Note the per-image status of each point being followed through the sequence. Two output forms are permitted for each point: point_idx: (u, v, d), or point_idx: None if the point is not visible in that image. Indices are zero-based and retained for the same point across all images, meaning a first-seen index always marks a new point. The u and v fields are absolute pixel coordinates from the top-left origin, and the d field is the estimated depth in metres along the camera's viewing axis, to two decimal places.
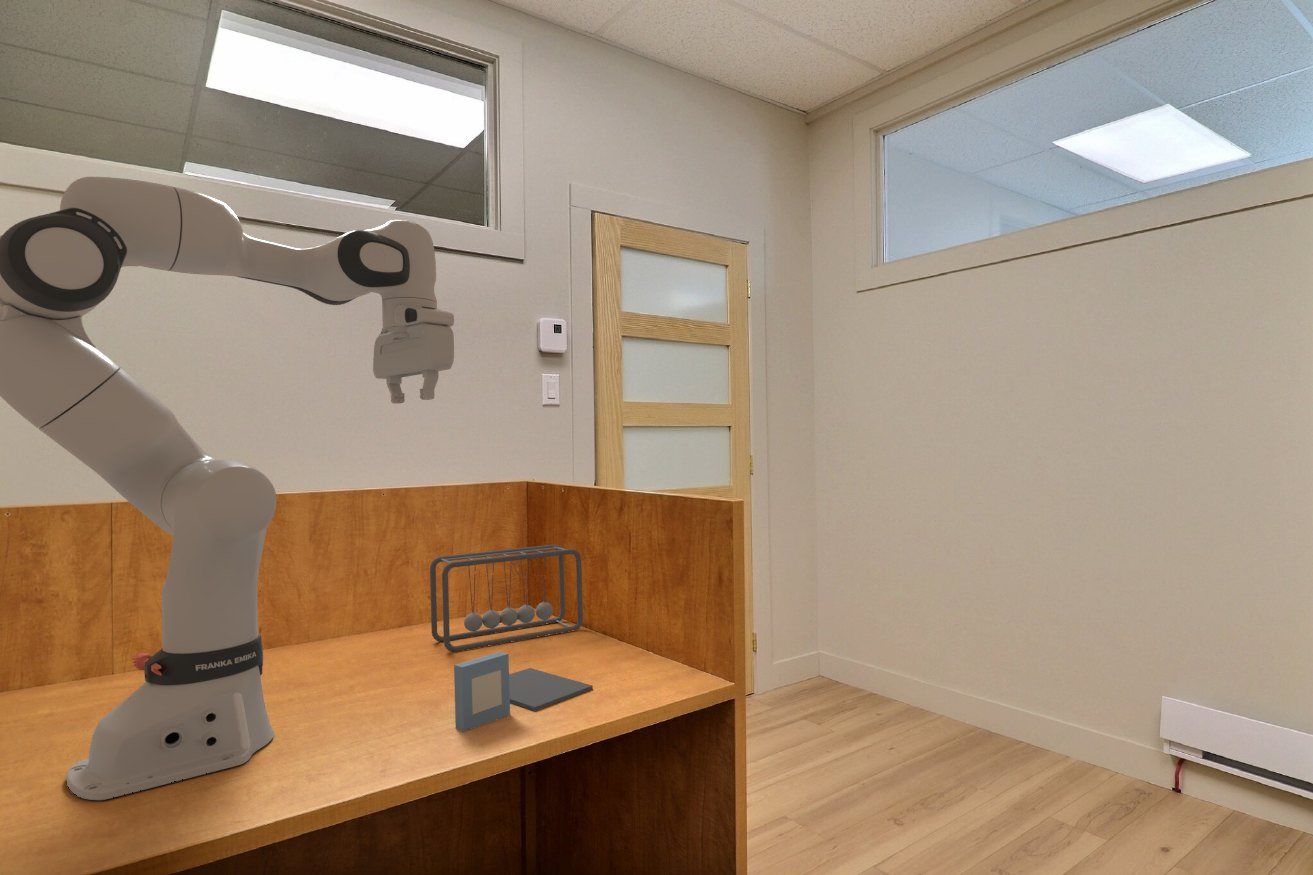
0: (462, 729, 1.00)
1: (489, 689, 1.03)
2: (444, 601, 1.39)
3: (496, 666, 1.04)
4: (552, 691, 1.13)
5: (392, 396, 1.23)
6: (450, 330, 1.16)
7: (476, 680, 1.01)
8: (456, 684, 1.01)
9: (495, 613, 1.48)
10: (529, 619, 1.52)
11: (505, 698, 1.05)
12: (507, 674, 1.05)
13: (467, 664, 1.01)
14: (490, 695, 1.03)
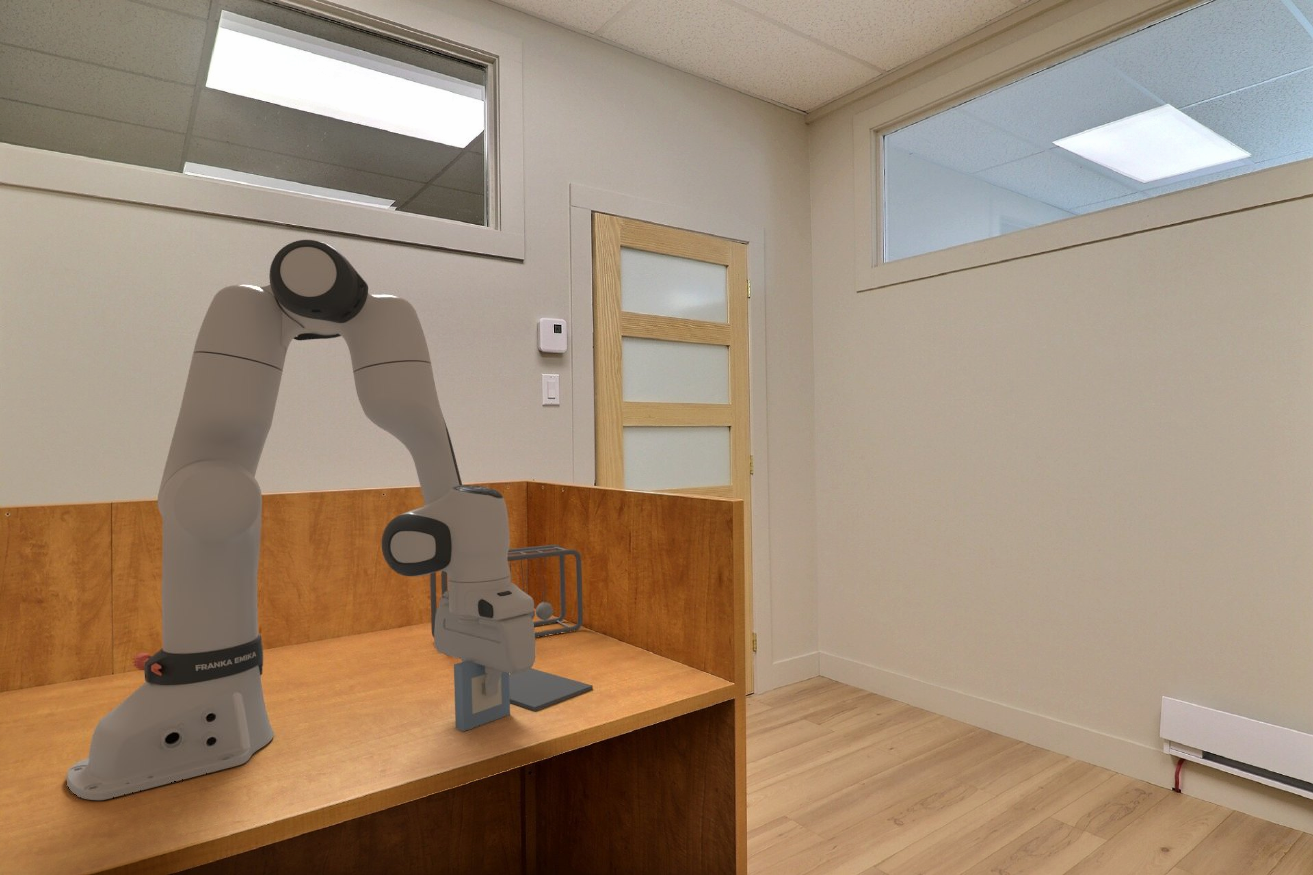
0: (462, 729, 1.00)
1: None
2: None
3: None
4: (552, 691, 1.13)
5: None
6: (530, 622, 0.99)
7: (476, 680, 1.01)
8: (456, 684, 1.01)
9: None
10: None
11: (505, 698, 1.05)
12: (507, 674, 1.06)
13: (467, 663, 1.01)
14: None
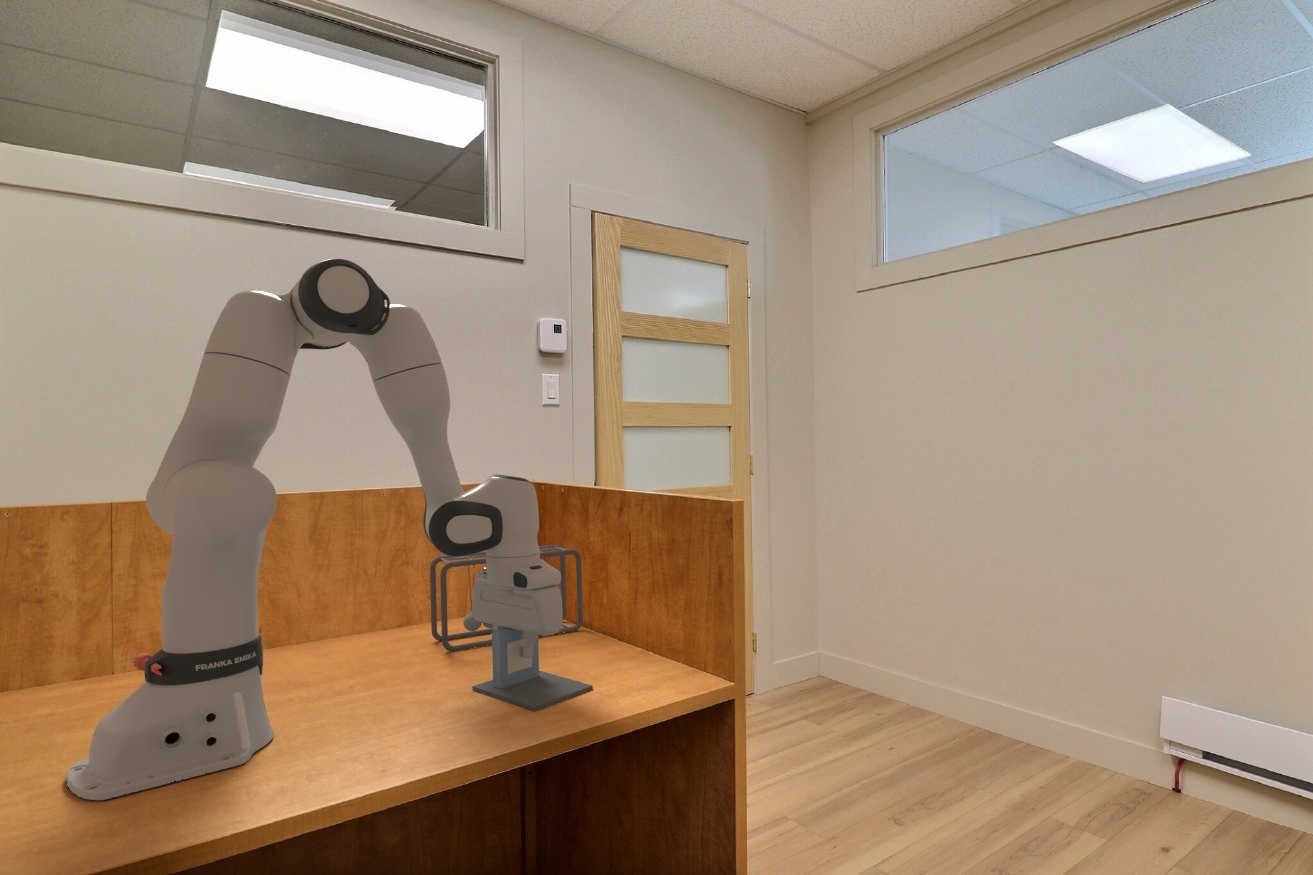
0: (499, 686, 1.16)
1: None
2: (442, 601, 1.40)
3: None
4: (552, 691, 1.13)
5: None
6: (558, 592, 1.15)
7: (511, 645, 1.17)
8: (494, 648, 1.17)
9: None
10: None
11: (535, 661, 1.21)
12: (536, 640, 1.21)
13: (503, 630, 1.17)
14: (522, 658, 1.19)
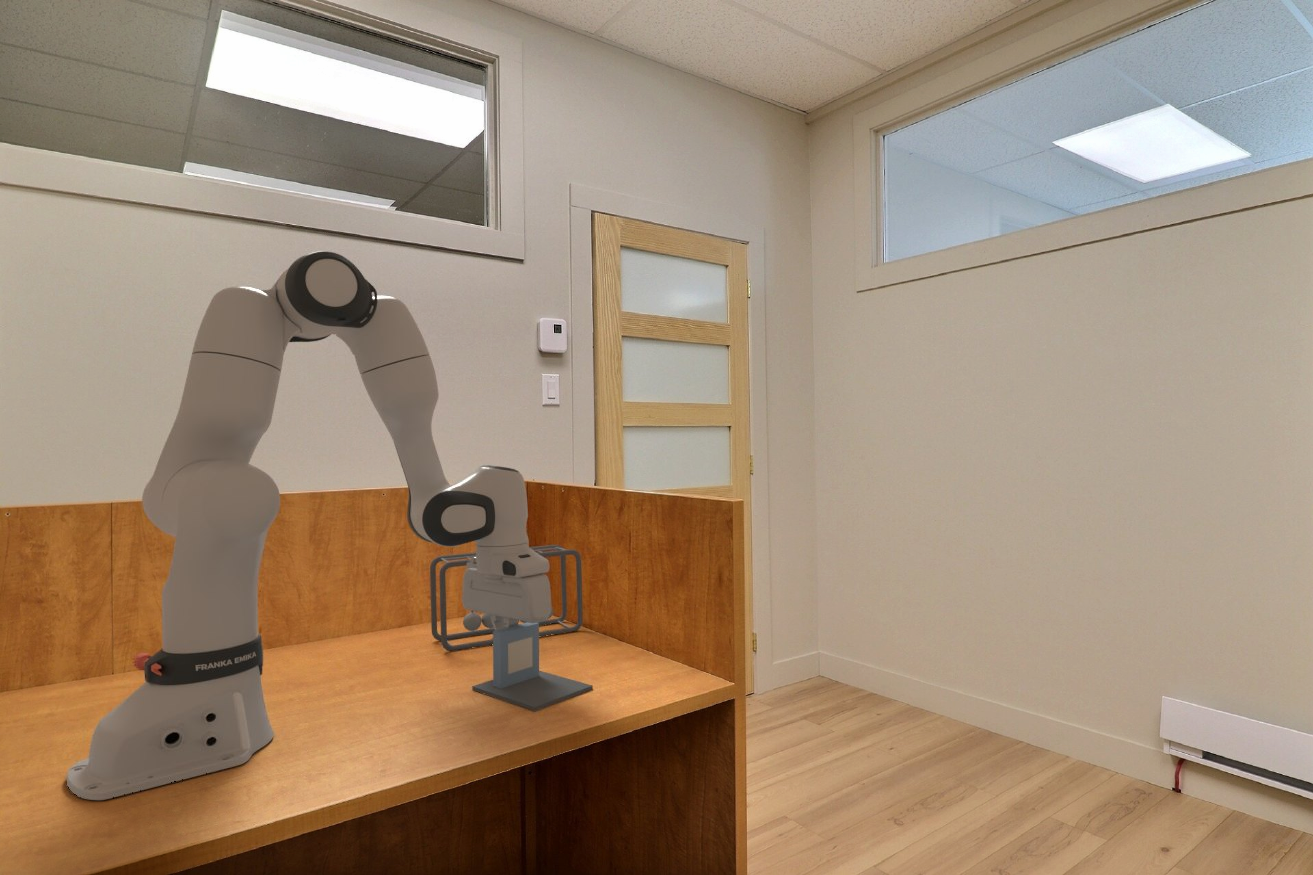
0: (499, 686, 1.16)
1: (522, 653, 1.19)
2: (441, 600, 1.40)
3: (528, 633, 1.20)
4: (552, 691, 1.13)
5: None
6: (547, 580, 1.17)
7: (512, 645, 1.17)
8: (494, 648, 1.16)
9: None
10: None
11: (535, 661, 1.21)
12: (537, 641, 1.21)
13: (504, 630, 1.17)
14: (523, 658, 1.19)
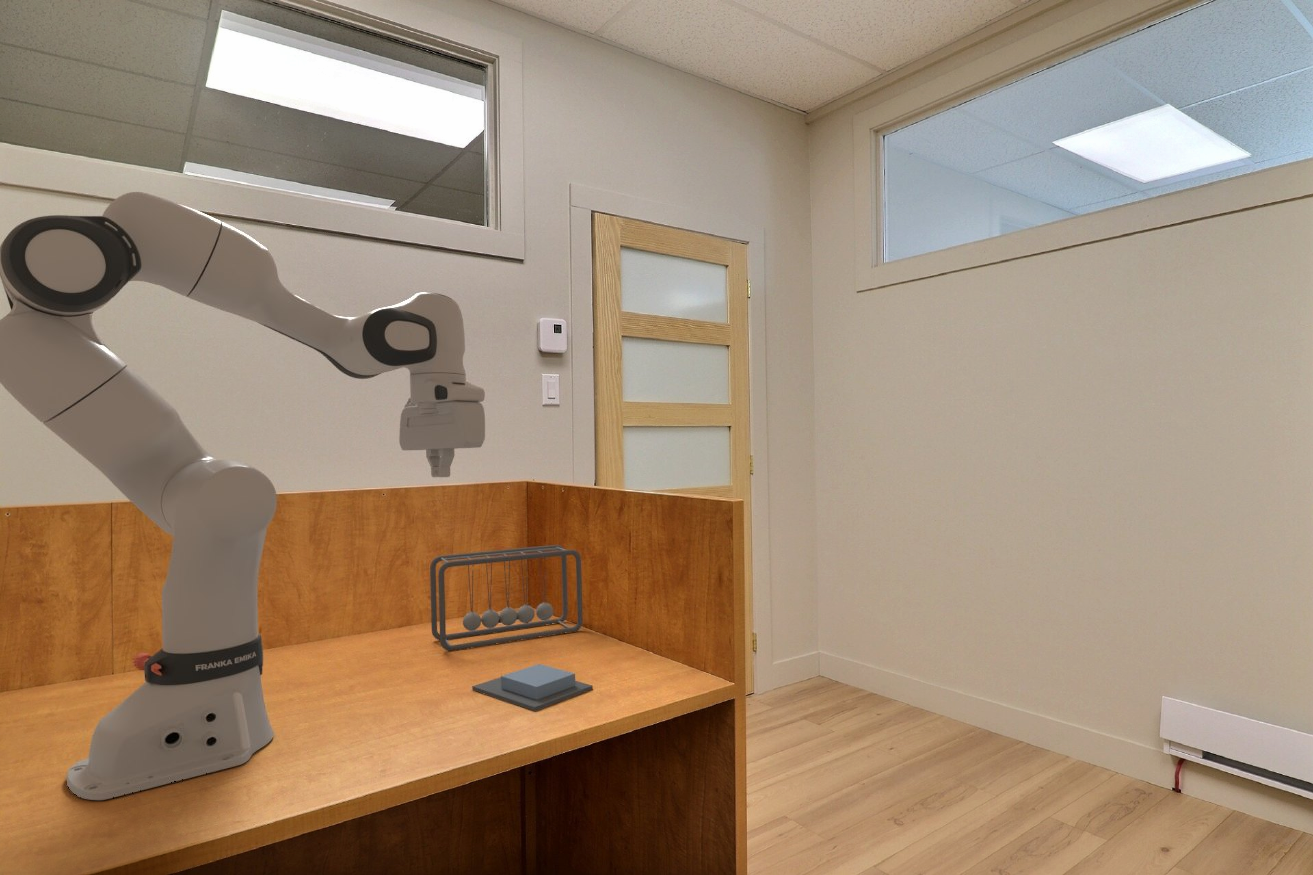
0: (502, 687, 1.15)
1: None
2: (440, 600, 1.40)
3: None
4: None
5: (432, 470, 1.17)
6: (481, 407, 1.13)
7: None
8: (525, 686, 1.11)
9: (494, 613, 1.49)
10: (528, 619, 1.52)
11: None
12: None
13: (543, 693, 1.10)
14: None
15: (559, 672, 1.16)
